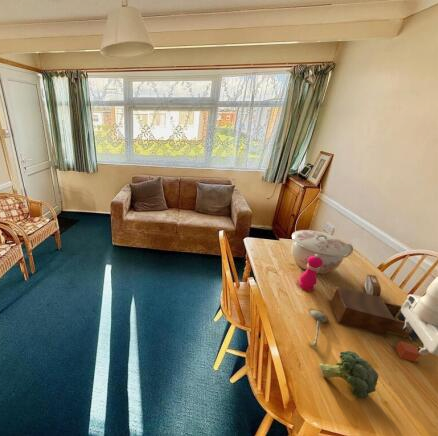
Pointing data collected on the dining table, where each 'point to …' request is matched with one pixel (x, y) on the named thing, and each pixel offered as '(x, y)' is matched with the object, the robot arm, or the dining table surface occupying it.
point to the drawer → (399, 322)
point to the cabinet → (362, 311)
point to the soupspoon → (318, 323)
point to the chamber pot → (319, 249)
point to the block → (407, 351)
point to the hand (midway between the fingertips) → (413, 341)
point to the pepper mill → (310, 273)
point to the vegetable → (353, 373)
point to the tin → (372, 285)
